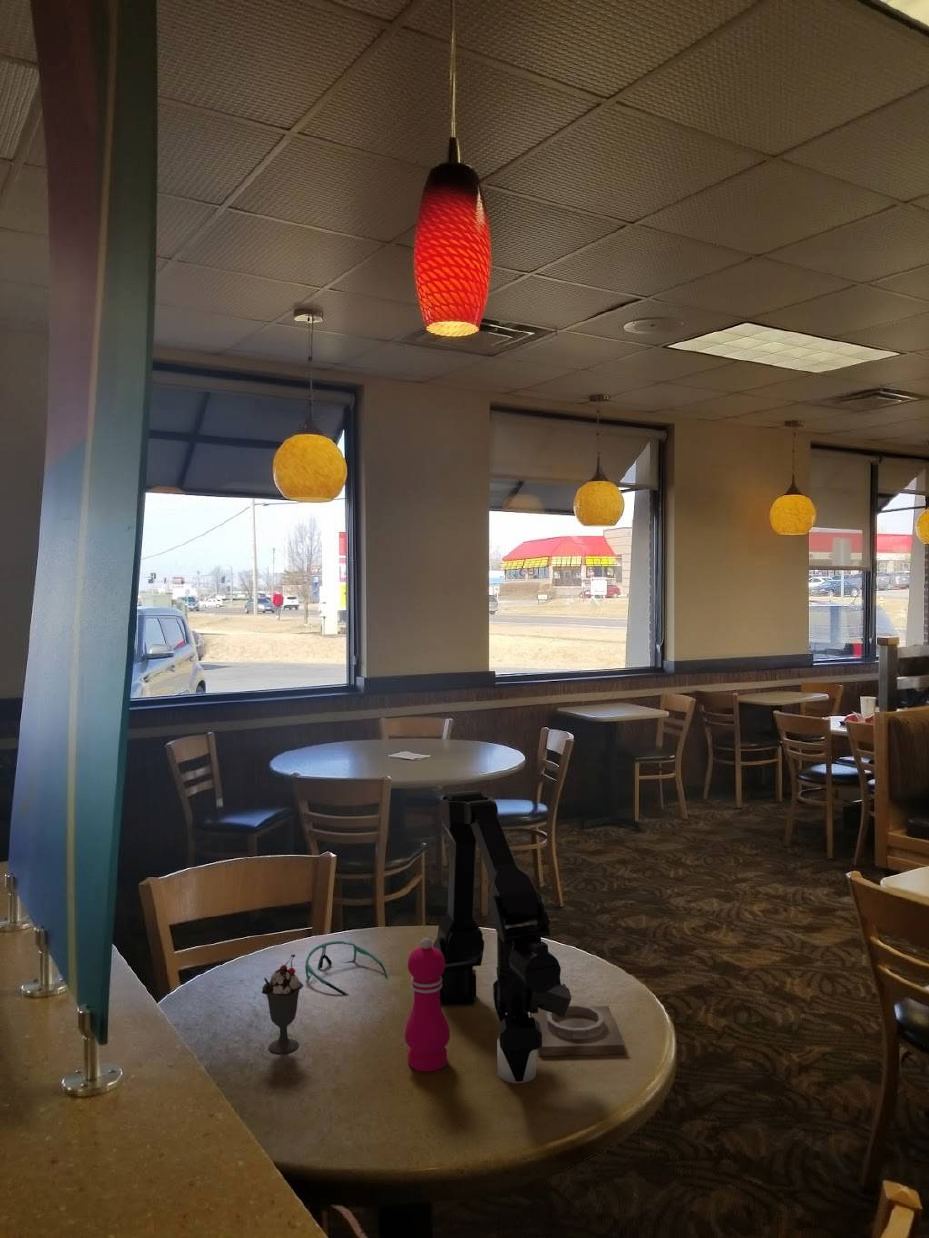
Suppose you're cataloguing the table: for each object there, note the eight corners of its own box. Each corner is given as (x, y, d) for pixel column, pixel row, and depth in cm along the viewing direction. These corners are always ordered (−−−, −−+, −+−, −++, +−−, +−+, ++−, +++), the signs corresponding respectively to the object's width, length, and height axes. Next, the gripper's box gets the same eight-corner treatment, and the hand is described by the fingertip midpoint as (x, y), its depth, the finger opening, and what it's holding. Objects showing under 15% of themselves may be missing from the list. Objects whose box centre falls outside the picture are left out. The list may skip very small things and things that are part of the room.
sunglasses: (348, 956, 188) (350, 933, 188) (395, 984, 178) (397, 960, 177) (292, 977, 178) (293, 953, 178) (339, 1008, 168) (340, 982, 167)
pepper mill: (416, 1077, 140) (414, 949, 139) (397, 1057, 146) (396, 934, 146) (457, 1066, 143) (456, 941, 143) (438, 1046, 149) (436, 926, 149)
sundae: (311, 1040, 152) (310, 952, 152) (291, 1059, 146) (289, 967, 145) (277, 1034, 154) (275, 947, 154) (255, 1053, 148) (254, 962, 147)
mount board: (538, 1055, 146) (538, 1037, 146) (530, 1016, 160) (529, 999, 160) (624, 1053, 146) (624, 1035, 146) (608, 1014, 160) (608, 997, 160)
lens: (498, 1083, 138) (498, 1050, 138) (496, 1063, 144) (496, 1031, 144) (537, 1082, 138) (537, 1049, 138) (533, 1062, 144) (533, 1030, 144)
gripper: (576, 991, 131) (576, 1096, 132) (559, 942, 150) (560, 1035, 150) (499, 992, 131) (500, 1098, 131) (492, 944, 150) (493, 1036, 150)
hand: (516, 1065), depth 141 cm, fingers open, 9 cm apart
